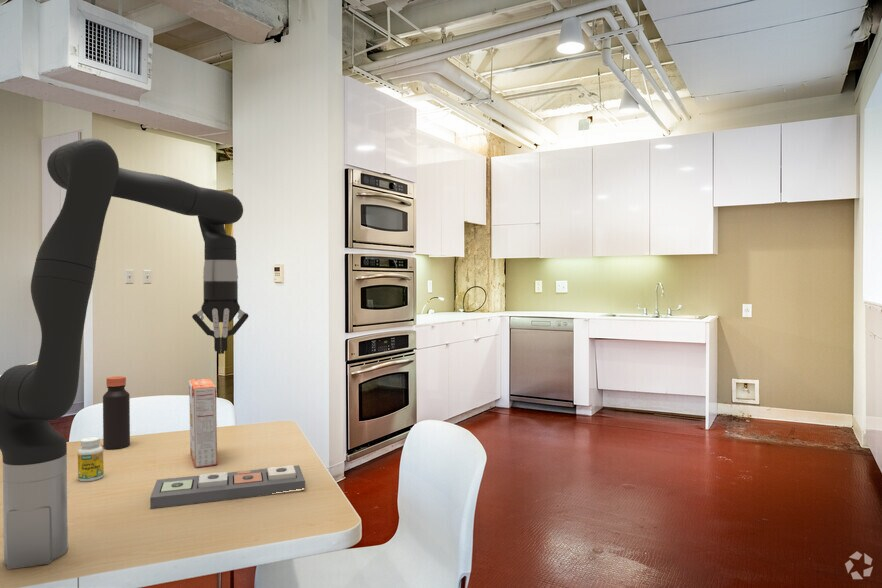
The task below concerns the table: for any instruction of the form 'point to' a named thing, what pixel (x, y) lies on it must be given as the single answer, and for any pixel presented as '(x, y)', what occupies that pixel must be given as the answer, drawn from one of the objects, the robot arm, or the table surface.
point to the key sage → (177, 485)
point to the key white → (212, 480)
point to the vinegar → (116, 414)
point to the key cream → (281, 473)
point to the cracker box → (203, 422)
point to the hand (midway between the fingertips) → (221, 353)
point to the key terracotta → (247, 478)
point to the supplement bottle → (90, 460)
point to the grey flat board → (223, 489)
